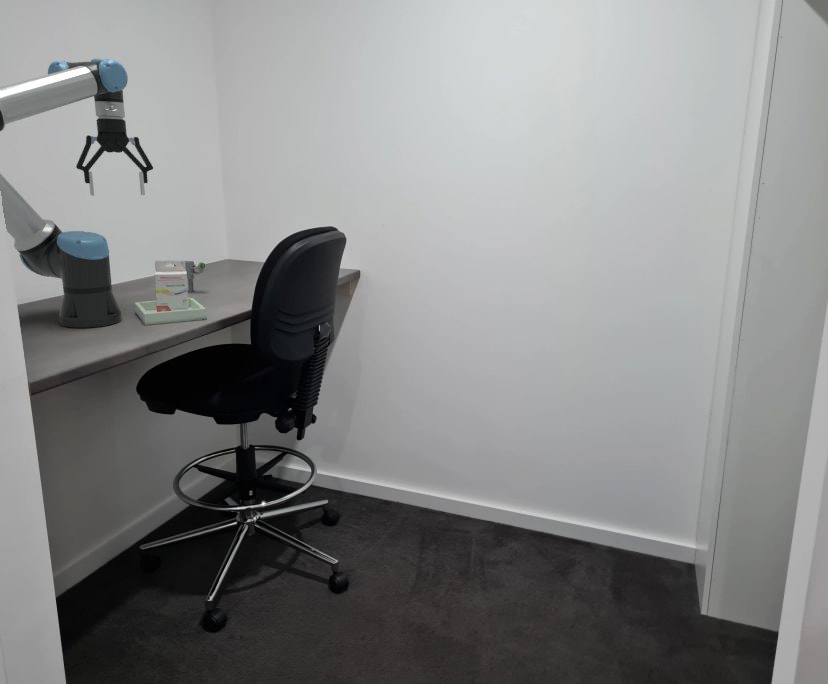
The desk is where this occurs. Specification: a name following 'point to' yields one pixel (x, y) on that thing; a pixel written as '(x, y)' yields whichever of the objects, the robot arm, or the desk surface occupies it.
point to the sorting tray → (169, 313)
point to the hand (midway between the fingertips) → (118, 195)
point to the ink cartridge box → (171, 286)
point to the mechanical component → (192, 272)
